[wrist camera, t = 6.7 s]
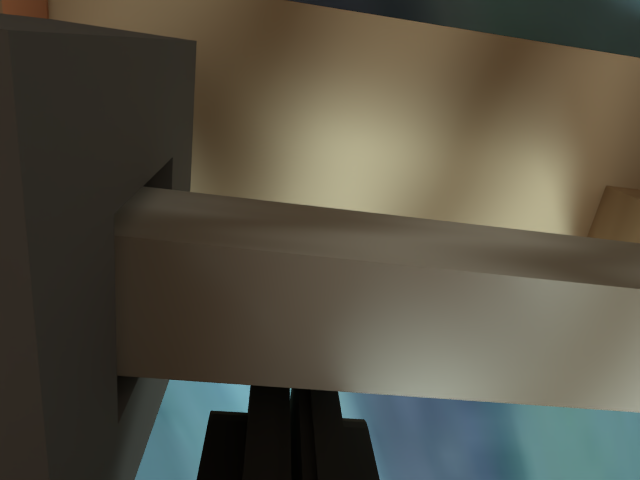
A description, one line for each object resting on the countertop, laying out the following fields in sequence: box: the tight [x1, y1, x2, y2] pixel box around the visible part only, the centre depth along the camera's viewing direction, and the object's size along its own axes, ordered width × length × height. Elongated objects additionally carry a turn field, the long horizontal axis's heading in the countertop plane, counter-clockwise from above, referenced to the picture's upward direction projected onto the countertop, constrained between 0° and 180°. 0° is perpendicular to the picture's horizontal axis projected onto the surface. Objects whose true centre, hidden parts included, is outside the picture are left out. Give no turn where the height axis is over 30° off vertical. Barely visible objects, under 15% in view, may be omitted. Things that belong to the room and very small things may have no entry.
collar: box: [0, 13, 197, 480], centre depth 8 cm, size 3×8×8 cm, turn 172°
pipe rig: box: [0, 0, 640, 412], centre depth 11 cm, size 26×10×8 cm, turn 82°
